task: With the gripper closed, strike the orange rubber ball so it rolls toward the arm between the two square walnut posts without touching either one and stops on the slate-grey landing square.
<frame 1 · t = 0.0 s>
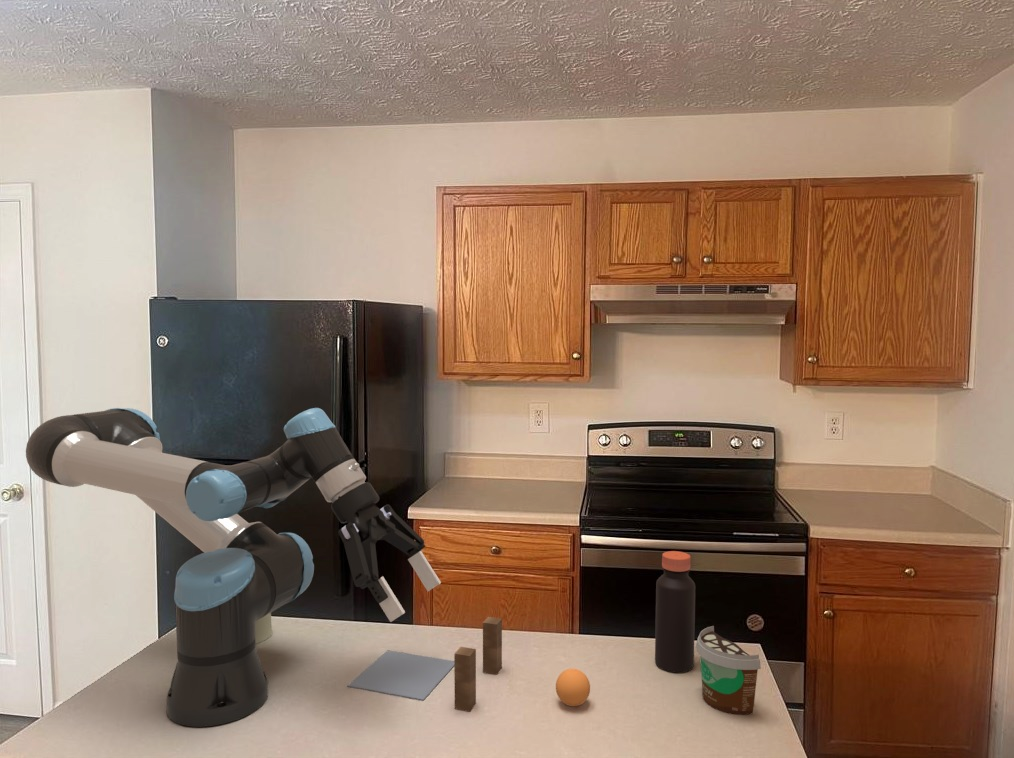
hand: (417, 601, 118), 15 cm above the countertop, tool tilted 35°, fingers open, 13 cm apart
can: (247, 636, 140), on the countertop
post 1: (465, 706, 114), on the countertop
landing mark: (404, 674, 125), on the countertop
food container: (717, 703, 116), on the countertop
bottle: (674, 665, 128), on the countertop
ball: (572, 687, 115), on the countertop
post 2: (492, 670, 126), on the countertop
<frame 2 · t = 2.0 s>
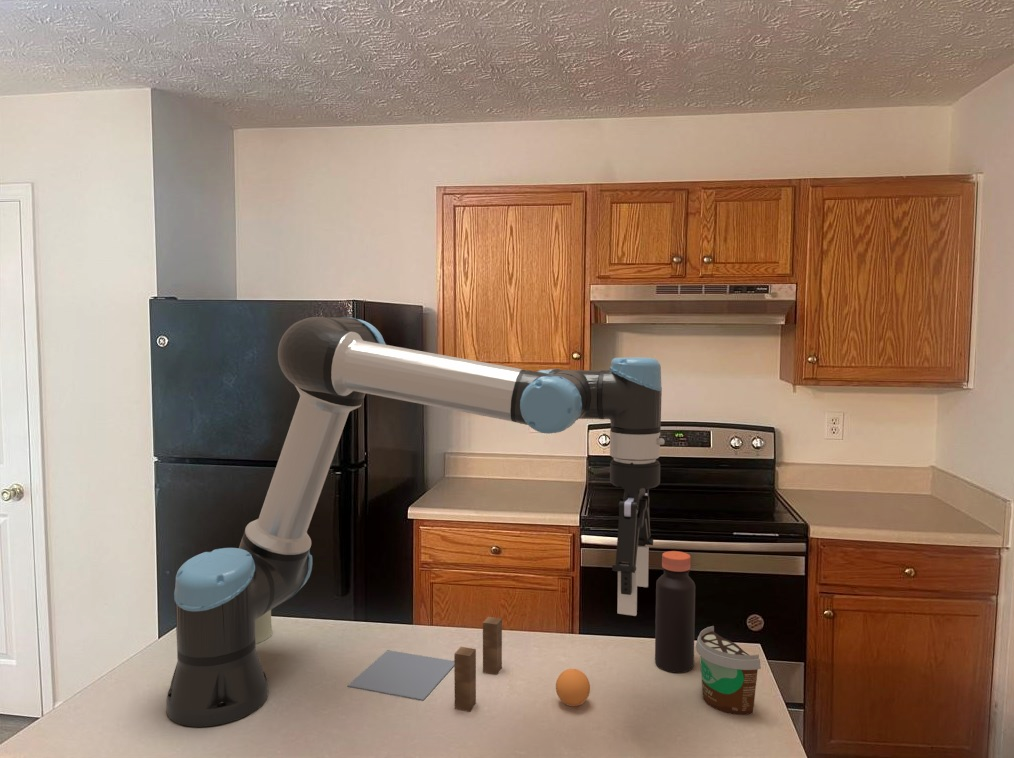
hand: (633, 599, 111), 18 cm above the countertop, tool pointing down, fingers open, 11 cm apart
nothing on the countertop moved.
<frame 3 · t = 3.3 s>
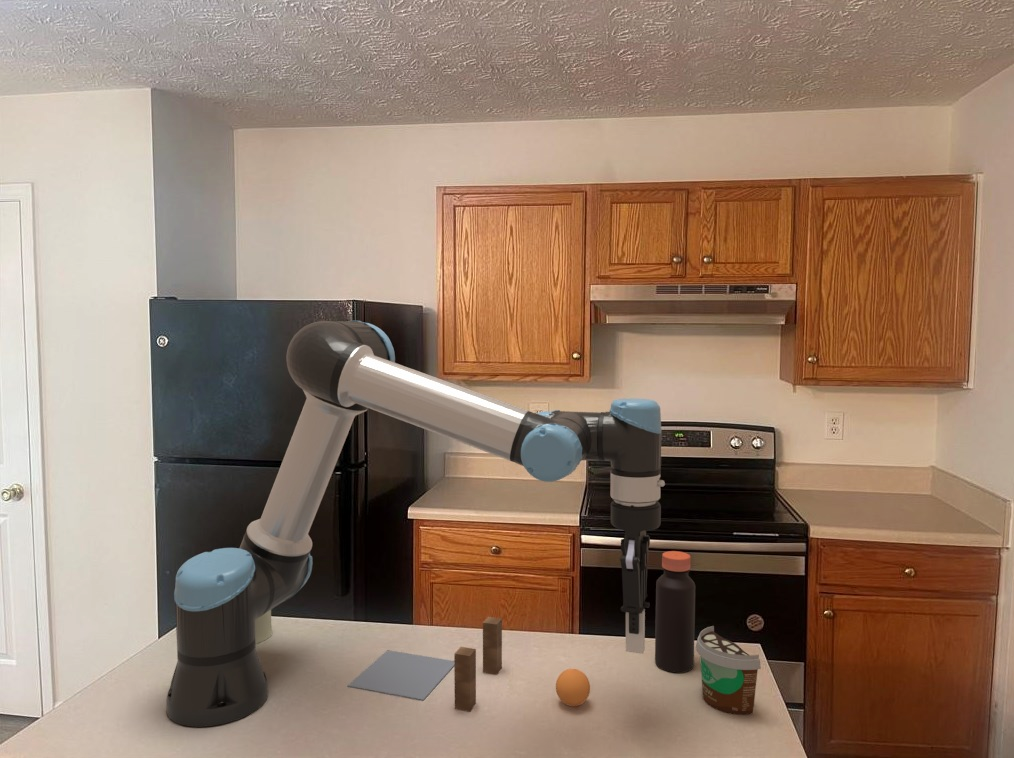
hand: (635, 650, 111), 10 cm above the countertop, tool pointing down, fingers closed
nothing on the countertop moved.
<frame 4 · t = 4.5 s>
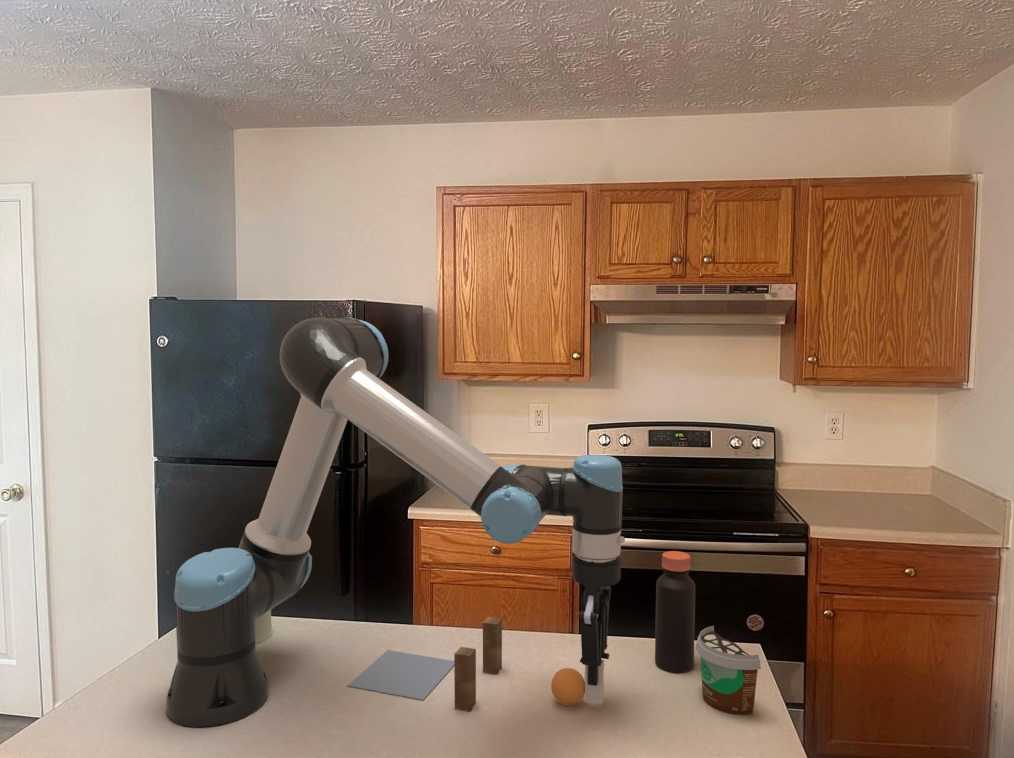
hand: (594, 700, 114), 1 cm above the countertop, tool pointing down, fingers closed
ball: (568, 686, 115), on the countertop, touching gripper
everything else where it was.
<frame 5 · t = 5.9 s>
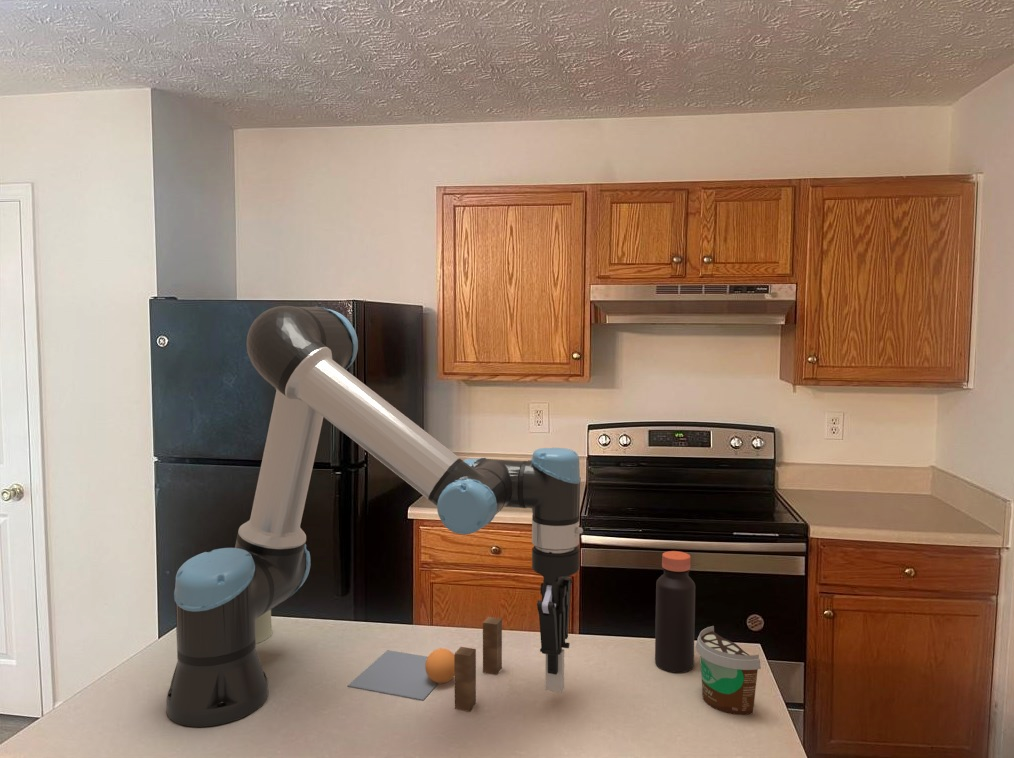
hand: (554, 689, 116), 2 cm above the countertop, tool pointing down, fingers closed
ball: (441, 665, 122), on the countertop
everything else where it was.
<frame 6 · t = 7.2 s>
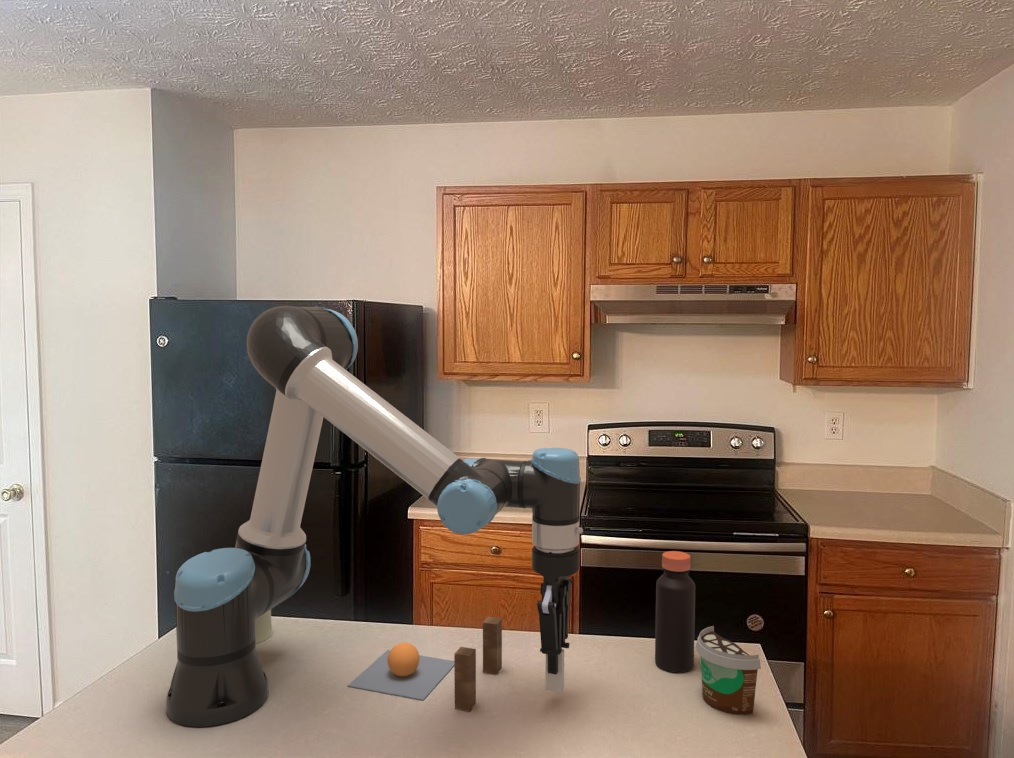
hand: (554, 689, 116), 2 cm above the countertop, tool pointing down, fingers closed
ball: (403, 659, 124), on the countertop
everything else where it was.
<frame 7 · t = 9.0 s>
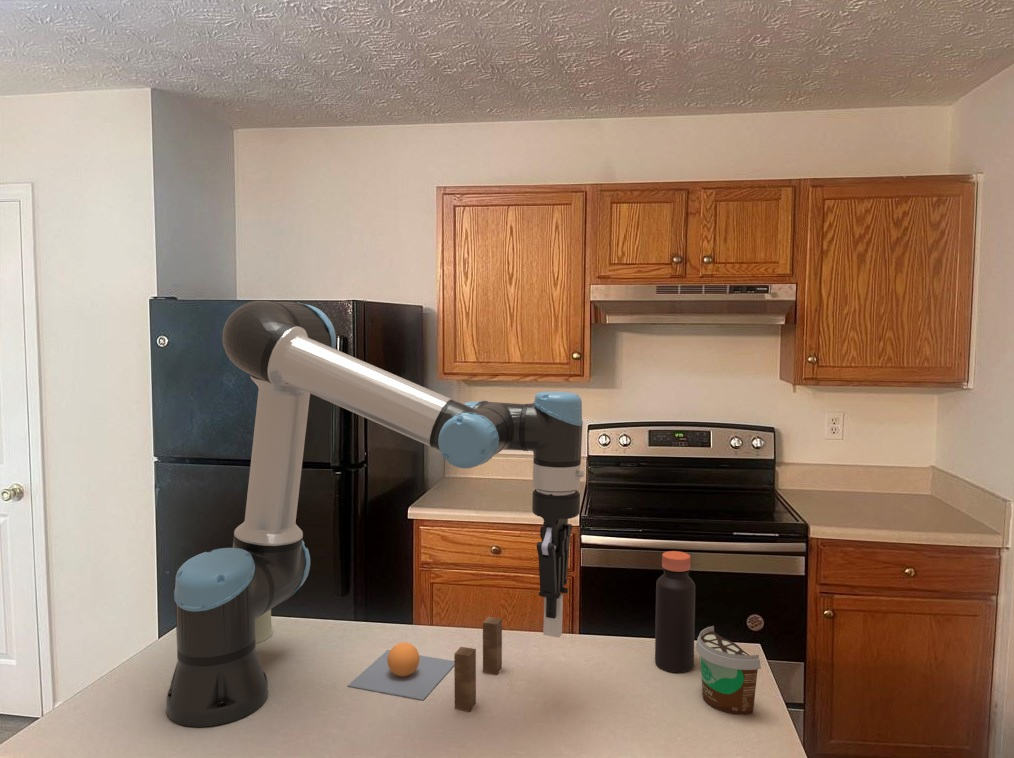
hand: (552, 634, 115), 11 cm above the countertop, tool pointing down, fingers closed
nothing on the countertop moved.
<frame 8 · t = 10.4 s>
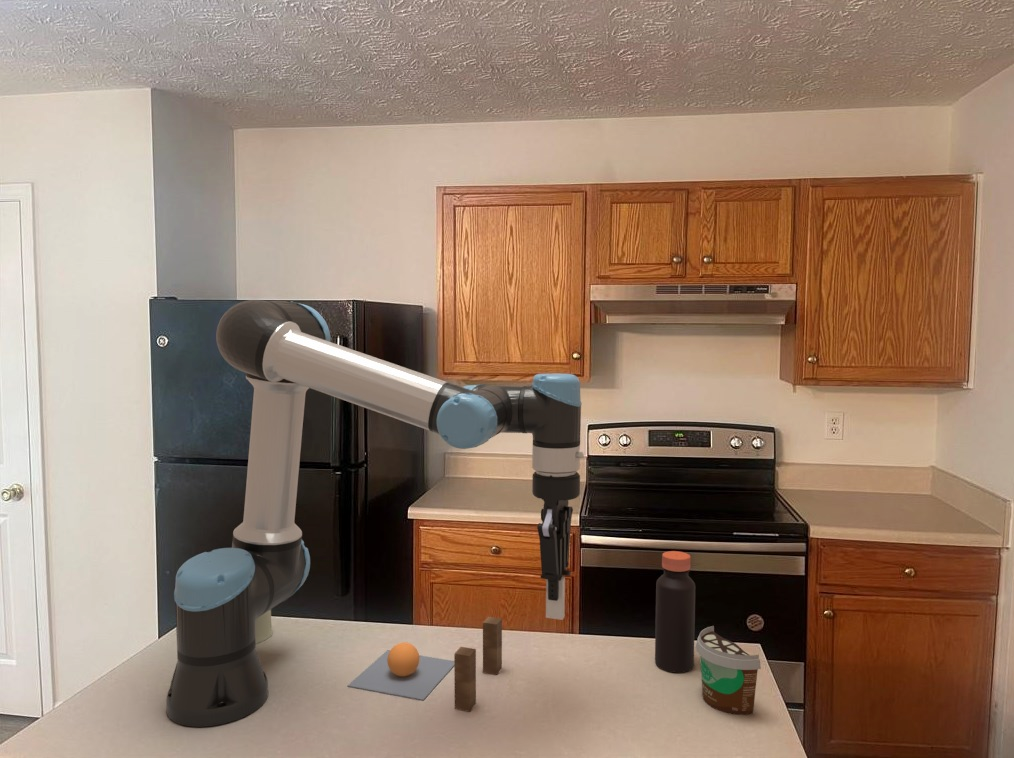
hand: (555, 616, 115), 14 cm above the countertop, tool pointing down, fingers closed
nothing on the countertop moved.
at the end: ball 0.2 cm from the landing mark (horizontally); ball never touched post 2; ball never touched post 1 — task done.
